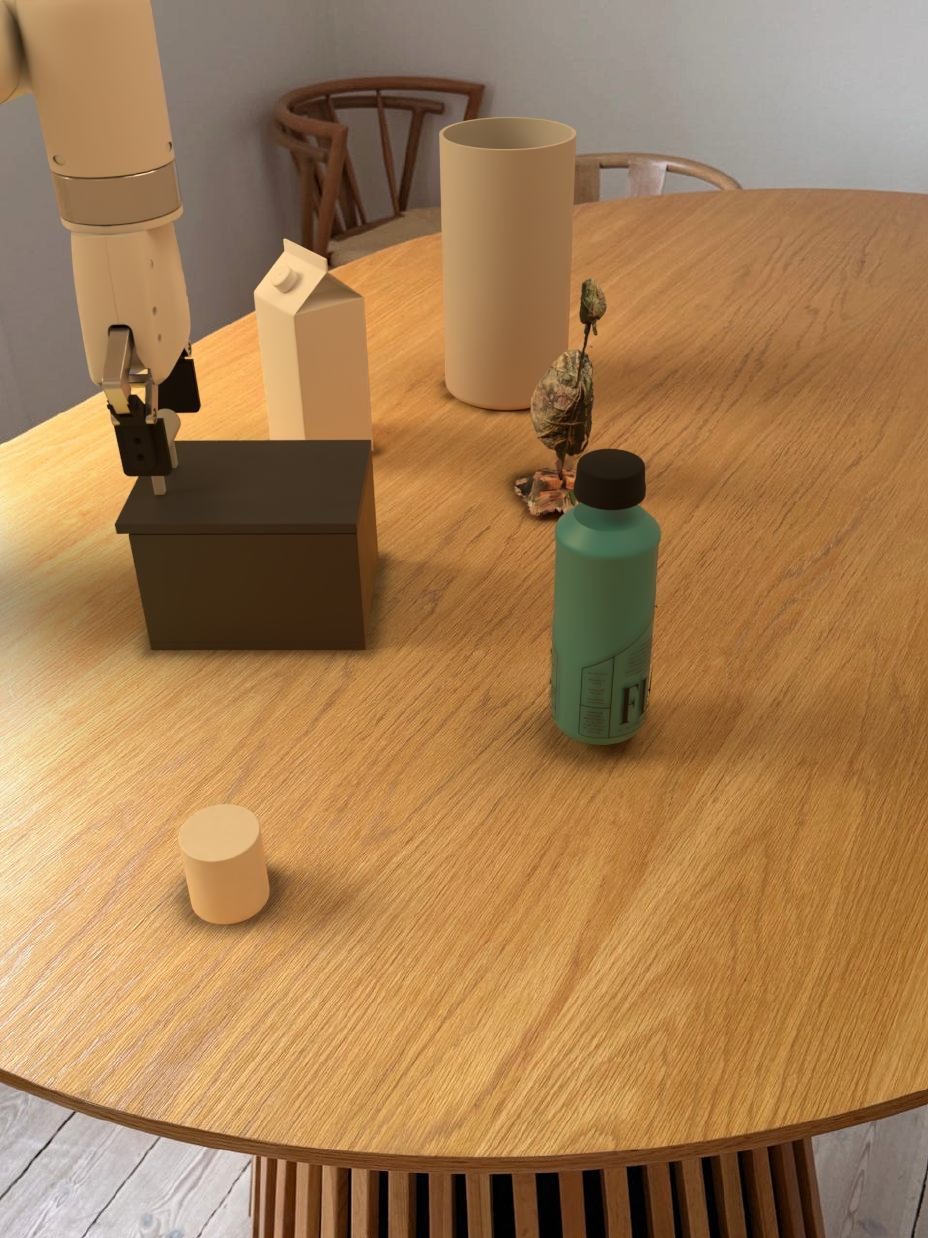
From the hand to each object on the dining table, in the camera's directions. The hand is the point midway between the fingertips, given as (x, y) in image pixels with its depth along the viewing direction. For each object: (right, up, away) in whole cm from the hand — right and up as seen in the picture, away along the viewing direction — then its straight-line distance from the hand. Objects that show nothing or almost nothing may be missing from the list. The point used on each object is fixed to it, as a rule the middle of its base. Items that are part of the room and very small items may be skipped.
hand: (164, 441), depth 85 cm
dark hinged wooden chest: (+6, -11, +8) cm, 15 cm away
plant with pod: (+29, -2, +21) cm, 36 cm away
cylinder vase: (+25, +11, +40) cm, 49 cm away
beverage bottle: (+30, -20, -5) cm, 36 cm away
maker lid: (+6, -3, +2) cm, 7 cm away
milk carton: (+8, +3, +29) cm, 30 cm away
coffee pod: (+8, -28, -17) cm, 34 cm away
